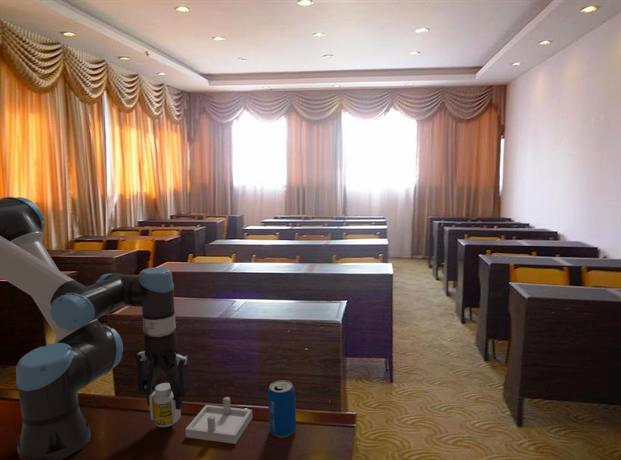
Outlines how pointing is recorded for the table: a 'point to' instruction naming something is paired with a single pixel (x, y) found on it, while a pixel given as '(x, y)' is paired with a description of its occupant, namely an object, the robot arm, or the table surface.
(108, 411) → the table surface
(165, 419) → the supplement bottle
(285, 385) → the beverage can
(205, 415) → the tray
